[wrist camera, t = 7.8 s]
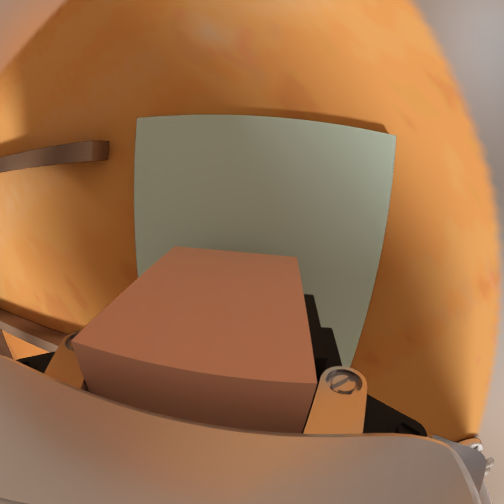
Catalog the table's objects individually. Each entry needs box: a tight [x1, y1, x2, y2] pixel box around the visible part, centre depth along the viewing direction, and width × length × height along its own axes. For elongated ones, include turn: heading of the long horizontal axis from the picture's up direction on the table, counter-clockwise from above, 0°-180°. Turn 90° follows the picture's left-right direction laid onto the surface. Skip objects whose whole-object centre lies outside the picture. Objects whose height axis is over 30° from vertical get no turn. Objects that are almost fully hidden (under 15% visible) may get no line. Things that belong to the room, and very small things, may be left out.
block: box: [71, 246, 317, 433], centre depth 9 cm, size 5×5×7 cm
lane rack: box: [0, 140, 109, 359], centre depth 15 cm, size 18×27×4 cm, turn 176°
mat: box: [134, 115, 396, 367], centre depth 14 cm, size 12×16×1 cm
